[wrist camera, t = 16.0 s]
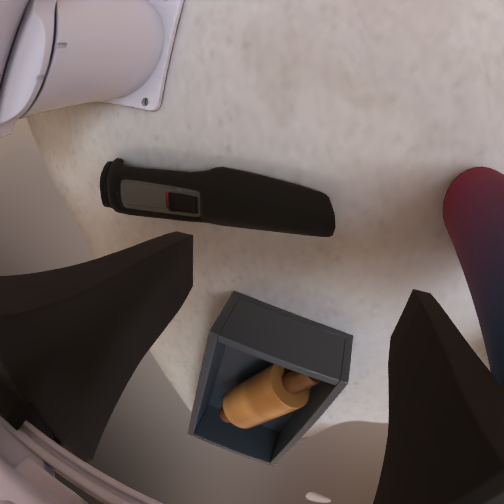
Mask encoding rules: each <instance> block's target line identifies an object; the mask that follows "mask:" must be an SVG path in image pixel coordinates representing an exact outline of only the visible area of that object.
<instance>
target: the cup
mask: <svg viewBox="0 0 504 504" xmlns="http://www.w3.org/2000/svg"><path fill="white" fill-rule="evenodd" d="M443 218H444V222H445V226H446V228H447V230H448V233H449V235H450V238H451V240H452V243H453V245H454V248H455V250H456V253H457V256H458V258H459V261H460V264H461V266H462V269H463V272H464V275H465V278H466V281H467V284H468V287H469V290H470V293H471V296H472V299H473V303H474V306H475V309H476V313H477V316H478V320H479V323H480V327H481V331H482V335H483V339H484V343H485V347H486V351H487V356H488V360H489V365H490V370H491V373H492V374H493V375H494V376H495V377H496V378H497V380H498V381H499V382H500V383H501V384H502V385H503V386H504V175H503V174H501V173H499V172H497V171H495V170H493V169H491V168H486V167H476V168H472V169H469V170H467V171H465V172H463V173H462V174H460V175H459V176H458V177H457V178H456V179H455V180H454V181H453V183H452V184H451V185H450V187H449V189H448V191H447V193H446V196H445V199H444V205H443Z"/></svg>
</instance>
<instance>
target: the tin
mask: <svg viewBox="0 0 504 504" xmlns="http://www.w3.org/2000/svg"><path fill="white" fill-rule="evenodd" d="M352 342H353V336H352V335H349V334H346V333H343V332H341V331H338V330H335V329H332V328H330V327H327V326H324V325H321V324H319V323H316V322H313V321H311V320H308V319H305V318H303V317H300V316H297V315H295V314H292V313H289V312H287V311H284V310H281V309H279V308H276V307H274V306H271V305H268V304H266V303H263V302H261V301H258V300H256V299H253V298H250V297H248V296H245V295H243V294H240V293H238V292H235V291H234V292H233V293H232V295H231V297H230V298H229V300H228V301H227V303H226V305H225V306H224V308H223V310H222V311H221V313H220V315H219V316H218V318H217V320H216V321H215V323H214V325H213V326H212V328H211V330H210V331H209V336H208V340H207V345H206V349H205V354H204V358H203V363H202V367H201V372H200V377H199V381H198V386H197V391H196V396H195V400H194V405H193V410H192V415H191V420H190V424H189V430H188V434H190V435H193V436H194V437H197V438H199V439H201V440H204V441H206V442H208V443H211V444H213V445H216V446H218V447H221V448H223V449H226V450H228V451H231V452H234V453H236V454H239V455H242V456H244V457H247V458H250V459H253V460H256V461H259V462H262V463H265V464H268V465H271V466H274V465H275V464H276V463H277V462H278V461H279V460H280V459H281V458H282V457H283V456H284V455H285V454H286V453H287V452H288V451H289V450H290V449H291V448H292V447H293V446H294V444H296V443H297V442H298V441H299V440H300V439H301V438H302V436H303V435H304V434H305V433H306V432H307V431H308V430H309V429H310V428H311V427H312V425H313V424H314V423H315V422H316V421H317V420H318V419H319V418H320V416H321V415H322V414H323V413H324V412H325V411H326V409H327V408H328V407H329V406H330V405H331V404H332V402H333V401H334V400H335V399H336V398H337V396H338V395H339V394H340V393H341V391H342V390H343V389H344V388H345V386H346V385H347V384H348V380H349V371H350V362H351V352H352ZM273 364H276V365H279V366H282V367H284V368H287V369H290V370H292V371H295V372H298V373H301V374H304V375H307V376H309V377H312V378H315V379H318V380H321V382H320V383H318V384H316V385H314V386H312V387H310V397H309V400H308V402H307V403H306V404H305V405H304V406H303V407H301V408H299V409H297V410H294V411H292V412H289V413H287V414H285V415H282V416H280V417H277V418H275V419H272V420H270V421H267V422H265V423H262V424H259V425H257V426H254V427H251V428H247V429H244V428H239V427H237V426H235V425H234V424H232V423H226V422H224V421H223V420H222V419H221V417H220V415H219V411H220V408H221V407H222V406H223V398H224V395H225V394H226V392H227V391H228V390H229V389H231V388H233V387H235V386H236V385H238V384H240V383H242V382H243V381H245V380H247V379H249V378H250V377H252V376H254V375H256V374H257V373H259V372H261V371H263V370H264V369H266V368H268V367H269V366H271V365H273Z"/></svg>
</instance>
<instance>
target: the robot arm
mask: <svg viewBox="0 0 504 504" xmlns="http://www.w3.org/2000/svg"><path fill="white" fill-rule="evenodd" d="M183 2H184V0H168V1H167V0H0V138H1V137H4V136H7V135H10V134H11V133H12V130H13V126H14V124H15V122H16V121H17V120H18V119H21V118H24V117H28V116H32V115H36V114H40V113H44V112H48V111H52V110H56V109H60V108H65V107H70V106H74V105H79V104H84V103H90V102H95V101H100V102H106V103H112V104H117V105H123V106H128V107H133V108H139V109H144V110H148V111H155V110H157V109H159V108H160V105H161V101H162V95H163V90H164V85H165V79H166V74H167V69H168V65H169V60H170V55H171V51H172V46H173V42H174V38H175V33H176V29H177V25H178V21H179V17H180V13H181V9H182V6H183ZM146 99H147V100H148V105H146V104H145V100H146ZM192 287H193V235H190V234H185V233H181V232H177V231H176V232H172V233H169V234H165V235H162V236H159V237H157V238H154V239H151V240H148V241H146V242H143V243H140V244H138V245H135V246H132V247H130V248H127V249H124V250H121V251H118V252H115V253H112V254H110V255H107V256H104V257H101V258H98V259H95V260H91V261H88V262H85V263H81V264H77V265H73V266H69V267H65V268H60V269H54V270H50V271H44V272H38V273H31V274H23V275H12V276H0V504H88V503H87V502H85V501H84V500H83V499H82V498H81V497H79V496H78V495H77V494H76V493H75V492H73V491H72V490H70V489H69V488H68V487H66V486H65V485H63V484H62V483H61V482H59V481H58V480H56V479H55V473H54V471H56V472H57V473H58V474H60V475H61V476H63V477H64V478H65V479H67V480H68V481H70V482H71V483H73V484H74V485H76V486H77V487H79V488H80V489H82V490H84V491H85V492H86V493H88V494H90V495H91V496H93V497H95V498H96V499H98V500H100V501H101V502H103V503H105V504H163V503H160V502H158V501H156V500H154V499H152V498H149V497H147V496H145V495H143V494H141V493H139V492H137V491H135V490H133V489H131V488H129V487H127V486H125V485H123V484H122V483H120V482H118V481H116V480H114V479H112V478H111V477H109V476H107V475H105V474H104V473H102V472H100V471H98V470H97V469H95V468H94V467H92V466H90V465H89V464H87V463H85V462H87V461H91V460H93V457H94V454H95V451H96V449H97V446H98V444H99V441H100V439H101V436H102V434H103V432H104V429H105V427H106V425H107V423H108V420H109V418H110V416H111V414H112V412H113V410H114V408H115V406H116V404H117V402H118V400H119V398H120V396H121V394H122V392H123V390H124V388H125V387H126V385H127V383H128V381H129V379H130V378H131V376H132V374H133V373H134V371H135V369H136V368H137V366H138V364H139V363H140V361H141V360H142V358H143V357H144V355H145V354H146V353H147V351H148V350H149V349H150V347H151V346H152V345H153V343H154V342H155V341H156V340H157V338H158V337H159V336H160V334H161V333H162V332H163V331H164V329H165V328H166V327H167V325H168V324H169V323H170V321H171V320H172V319H173V317H174V316H175V315H176V314H177V312H178V311H179V309H180V308H181V306H182V305H183V303H184V301H185V299H186V298H187V296H188V294H189V292H190V290H191V288H192ZM388 374H389V427H388V438H387V444H386V451H385V456H384V462H383V467H382V471H381V476H380V480H379V484H378V489H377V492H376V496H375V499H374V502H373V504H504V386H503V385H502V384H501V383H500V382H499V381H498V380H497V378H496V377H495V376H494V375H493V374H492V373H491V372H490V371H489V369H488V368H487V367H486V366H485V365H484V363H483V362H482V361H481V360H480V358H479V357H478V356H477V354H476V353H475V352H474V350H473V349H472V348H471V347H470V345H469V344H468V343H467V341H466V340H465V339H464V337H463V336H462V334H461V333H460V332H459V330H458V329H457V328H456V326H455V325H454V323H453V322H452V321H451V319H450V318H449V317H448V315H447V314H446V312H445V311H444V310H443V308H442V307H441V306H440V304H439V303H438V302H437V301H436V299H435V298H434V297H433V296H432V295H431V294H430V293H427V292H423V291H419V290H415V289H413V290H412V293H411V295H410V297H409V299H408V302H407V304H406V306H405V308H404V310H403V313H402V315H401V317H400V319H399V321H398V323H397V325H396V327H395V329H394V331H393V333H392V335H391V340H390V350H389V362H388ZM53 470H54V471H53Z"/></svg>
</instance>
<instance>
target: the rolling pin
mask: <svg viewBox="0 0 504 504" xmlns="http://www.w3.org/2000/svg"><path fill="white" fill-rule="evenodd" d="M320 382H321V380H318V379H315V378H312V377H309V376H307V375H304V374H301V373H298V372H295V371H292V370H290V369H287V368H284V367H282V366H279V365H276V364H273V365H271V366H269V367H268V368H266V369H264V370H263V371H261V372H259V373H257V374H256V375H254V376H252V377H250V378H249V379H247V380H245V381H243V382H242V383H240V384H238V385H236V386H235V387H233V388H231V389H229V390H228V391H227V392H226V394H225V395H224V398H223V406H222V407H221V408H220V411H219V415H220V417H221V419H222V420H223V421H224V422H226V423H232V424H234V425H235V426H237V427H239V428H244V429H247V428H251V427H254V426H257V425H259V424H262V423H265V422H267V421H270V420H272V419H275V418H277V417H280V416H282V415H285V414H287V413H289V412H292V411H294V410H297V409H299V408H301V407H303V406H304V405H305V404H306V403H307V402H308V400H309V397H310V387H312V386H314V385H316V384H318V383H320Z"/></svg>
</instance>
